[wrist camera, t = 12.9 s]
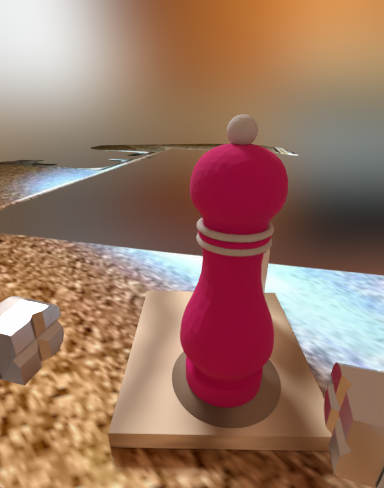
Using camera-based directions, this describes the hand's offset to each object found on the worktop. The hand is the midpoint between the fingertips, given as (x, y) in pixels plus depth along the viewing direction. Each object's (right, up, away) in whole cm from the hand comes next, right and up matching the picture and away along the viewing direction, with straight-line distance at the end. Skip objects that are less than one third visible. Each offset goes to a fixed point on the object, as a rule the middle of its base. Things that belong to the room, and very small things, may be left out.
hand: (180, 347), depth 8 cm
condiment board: (+3, -8, +20) cm, 22 cm away
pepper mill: (+3, -8, +16) cm, 18 cm away
